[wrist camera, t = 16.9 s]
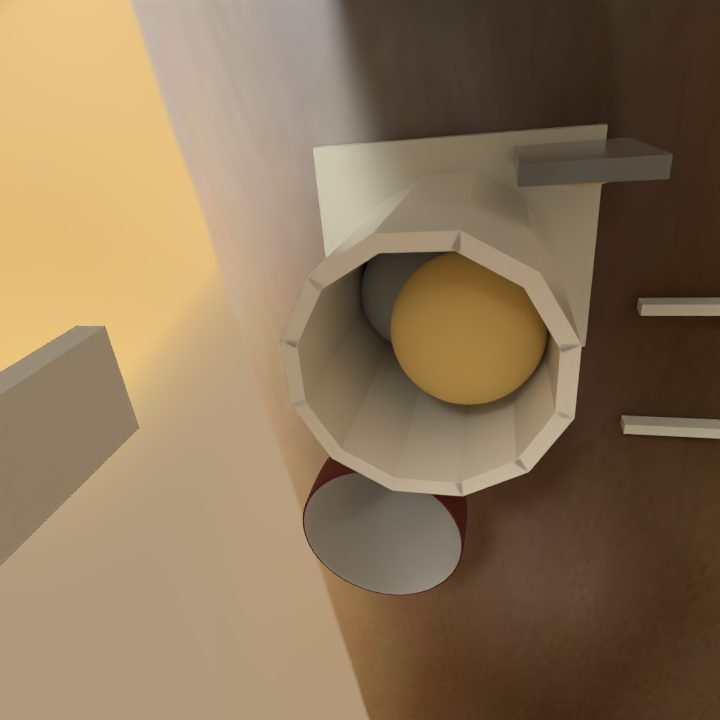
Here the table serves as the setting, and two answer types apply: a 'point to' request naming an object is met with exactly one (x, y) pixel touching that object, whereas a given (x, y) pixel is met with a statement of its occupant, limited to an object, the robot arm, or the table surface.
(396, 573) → the mug
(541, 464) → the table surface
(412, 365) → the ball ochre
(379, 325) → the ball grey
